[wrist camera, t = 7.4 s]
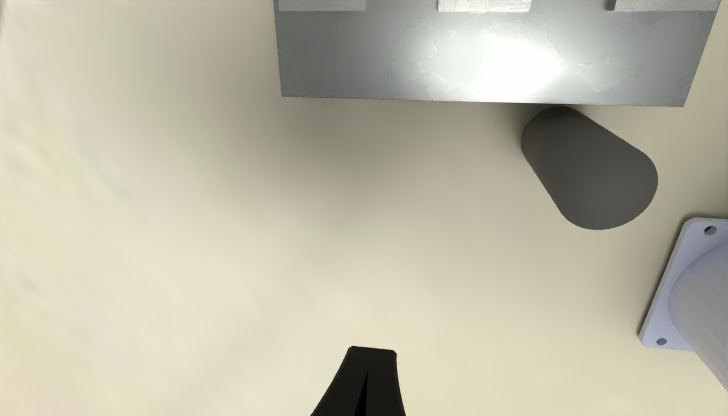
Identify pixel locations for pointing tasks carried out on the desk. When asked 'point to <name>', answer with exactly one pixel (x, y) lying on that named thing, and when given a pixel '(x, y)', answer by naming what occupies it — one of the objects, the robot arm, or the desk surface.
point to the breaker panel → (493, 50)
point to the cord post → (588, 169)
